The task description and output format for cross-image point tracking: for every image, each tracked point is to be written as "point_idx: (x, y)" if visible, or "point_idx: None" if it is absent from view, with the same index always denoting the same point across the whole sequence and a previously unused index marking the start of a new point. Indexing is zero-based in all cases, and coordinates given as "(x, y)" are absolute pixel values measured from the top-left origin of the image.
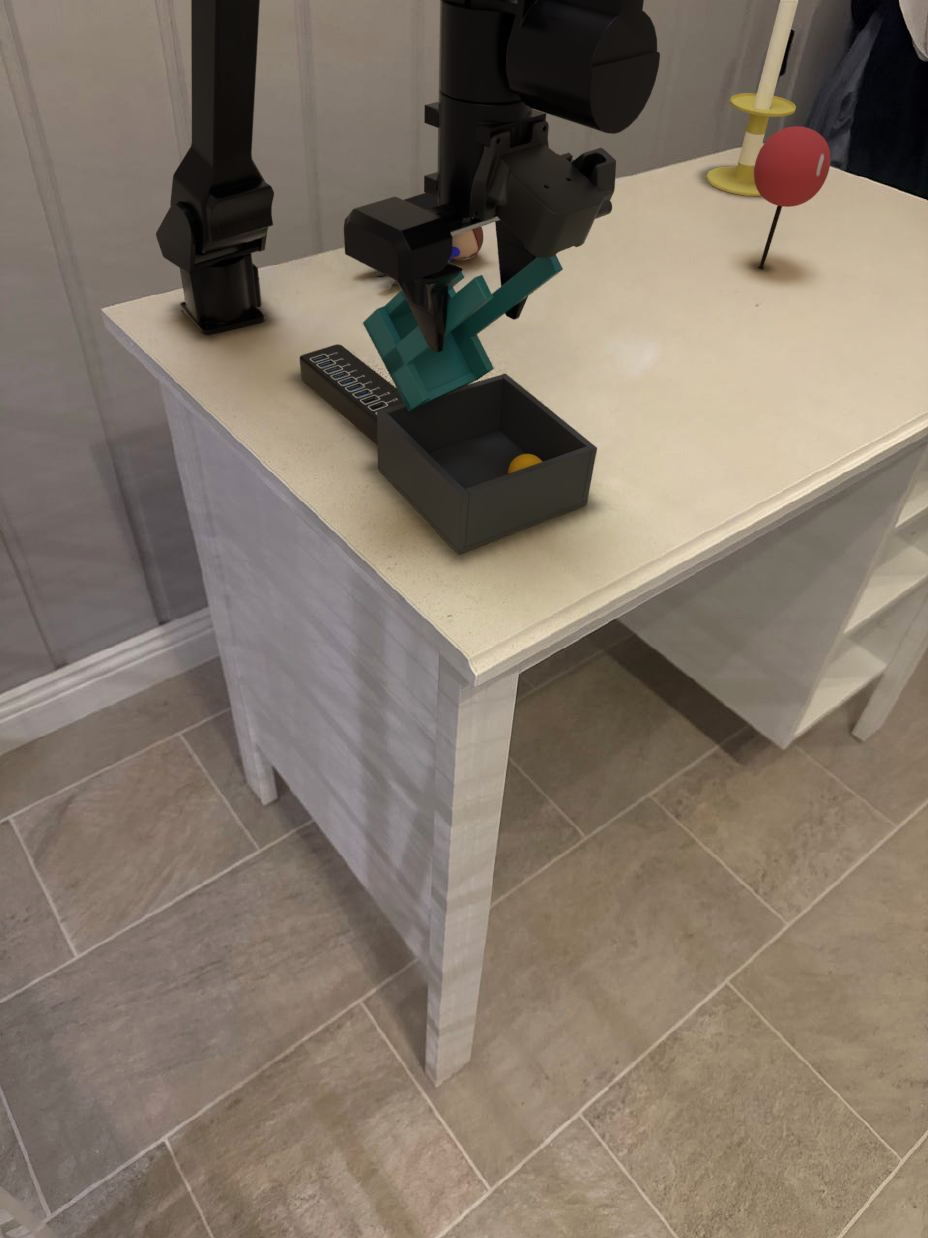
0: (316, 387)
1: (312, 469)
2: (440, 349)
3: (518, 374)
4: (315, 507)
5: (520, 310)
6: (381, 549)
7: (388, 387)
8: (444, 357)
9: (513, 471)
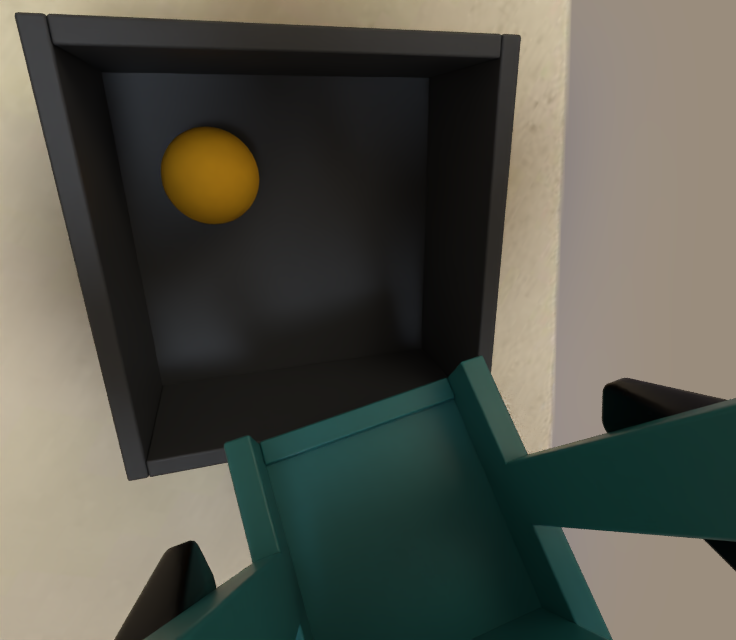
0: None
1: (509, 385)
2: (628, 380)
3: (5, 560)
4: (553, 298)
5: (162, 577)
6: (533, 153)
7: None
8: (344, 509)
9: (256, 176)
